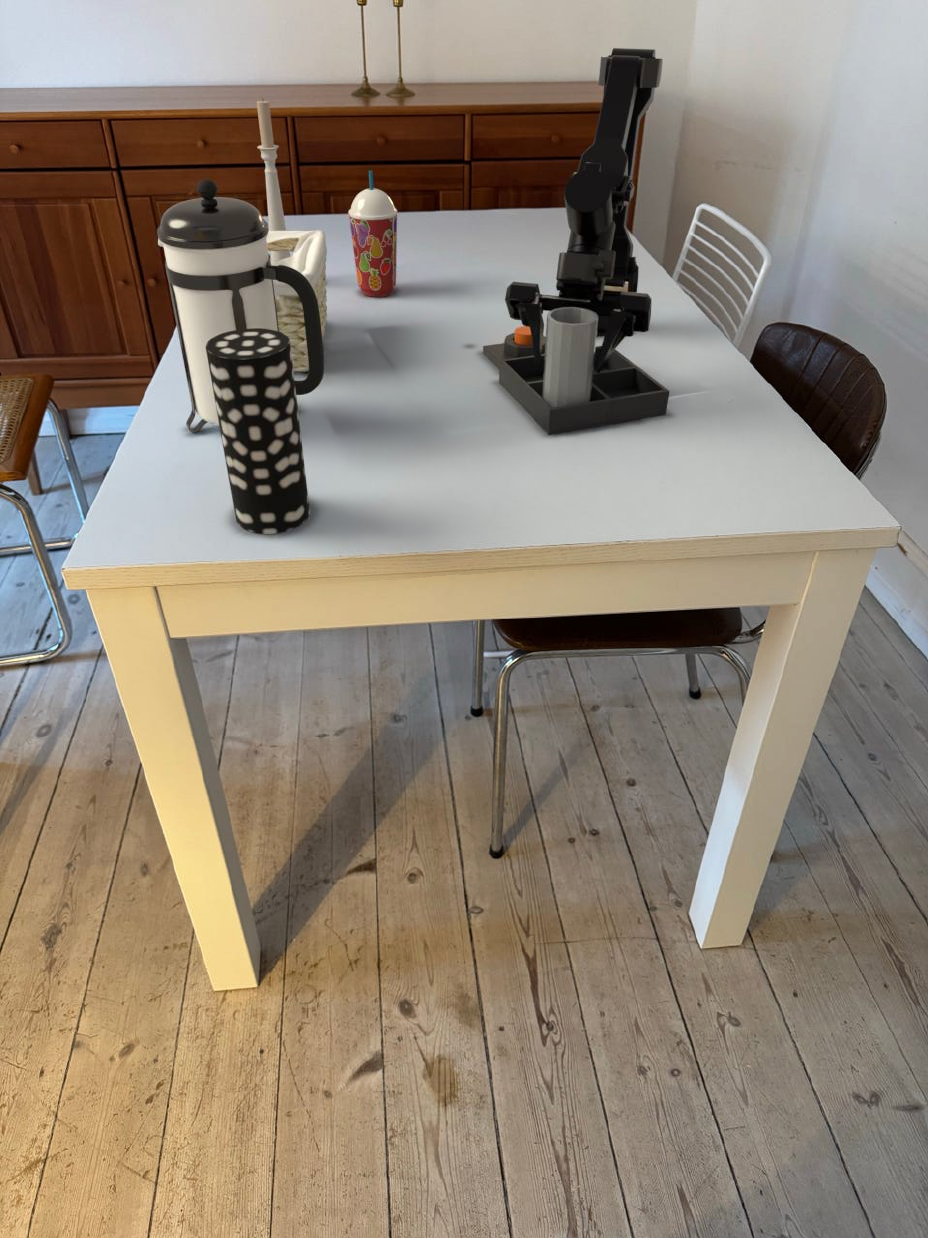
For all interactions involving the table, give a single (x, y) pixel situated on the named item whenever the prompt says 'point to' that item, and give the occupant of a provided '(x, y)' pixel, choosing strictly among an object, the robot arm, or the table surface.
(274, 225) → the candlestick
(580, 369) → the tumbler
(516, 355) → the block
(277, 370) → the spotted tube
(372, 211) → the smoothie
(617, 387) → the divided tray
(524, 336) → the button
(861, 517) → the table surface
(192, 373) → the coffee press
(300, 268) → the basket
